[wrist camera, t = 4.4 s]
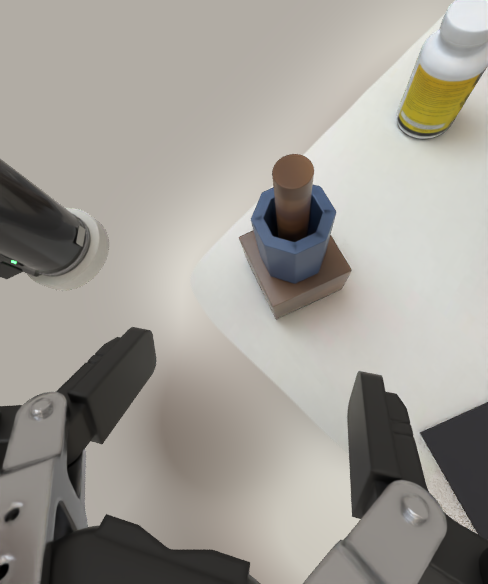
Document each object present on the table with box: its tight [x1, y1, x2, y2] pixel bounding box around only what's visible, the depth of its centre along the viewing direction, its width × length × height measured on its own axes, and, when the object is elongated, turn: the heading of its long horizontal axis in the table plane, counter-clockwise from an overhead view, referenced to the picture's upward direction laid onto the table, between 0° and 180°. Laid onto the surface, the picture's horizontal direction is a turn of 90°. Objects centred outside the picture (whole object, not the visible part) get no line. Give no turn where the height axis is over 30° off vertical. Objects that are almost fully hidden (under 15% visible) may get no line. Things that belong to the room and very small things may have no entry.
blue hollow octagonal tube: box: [251, 185, 336, 284], centre depth 26 cm, size 6×6×7 cm
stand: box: [239, 154, 352, 319], centre depth 26 cm, size 8×8×18 cm
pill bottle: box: [397, 0, 488, 138], centre depth 32 cm, size 6×6×12 cm
